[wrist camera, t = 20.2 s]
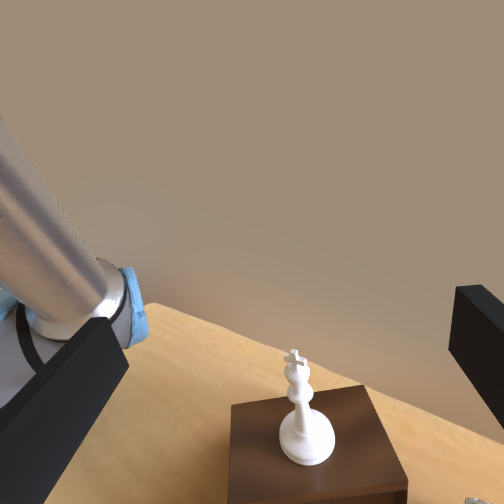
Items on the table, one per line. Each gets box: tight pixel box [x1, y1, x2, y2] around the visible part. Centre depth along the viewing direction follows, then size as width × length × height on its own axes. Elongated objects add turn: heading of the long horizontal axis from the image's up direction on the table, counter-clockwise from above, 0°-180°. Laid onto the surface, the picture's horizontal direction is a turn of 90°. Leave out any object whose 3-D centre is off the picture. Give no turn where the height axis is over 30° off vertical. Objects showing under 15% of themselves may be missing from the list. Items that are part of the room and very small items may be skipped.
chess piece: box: [279, 349, 335, 465], centre depth 25 cm, size 5×5×10 cm
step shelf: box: [228, 385, 408, 504], centre depth 31 cm, size 14×14×12 cm
